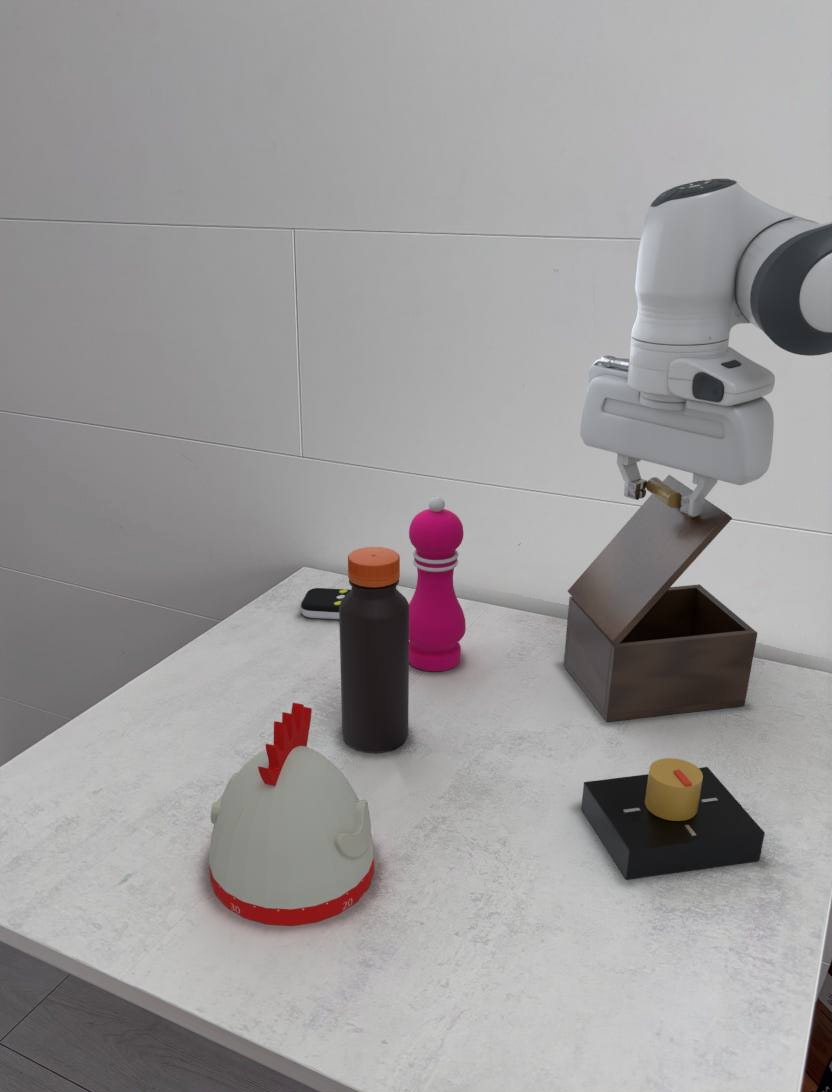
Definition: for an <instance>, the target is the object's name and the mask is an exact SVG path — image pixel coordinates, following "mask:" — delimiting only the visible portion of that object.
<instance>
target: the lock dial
mask: <svg viewBox="0 0 832 1092" xmlns="http://www.w3.org/2000/svg"><path fill="white" fill-rule="evenodd" d="M699 768H700V767H699V766H697V765H695V764H693V763H691V762H690V761H688V760H684V759H680V758H676V757H675V758H674V757H665V758H660V759H657V760H655V761H653V762H652V763H651V764H650V765H649V768H648V774H649V775H648V782H647V789H646V797H645V805H646V807H647V809H648V810H649V811H650V812H651V813H652V814H654V815H655V816H657V817H660V818H662V819H666V820H670V821H684V820H688V819H691V818H692V817H694V816H695V815H696V813H697V810H698V804H699V798H700V792H701V786H702V780H703V774H702V772H701V770H700V769H699Z"/></svg>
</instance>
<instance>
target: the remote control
mask: <svg viewBox="0 0 832 1092" xmlns="http://www.w3.org/2000/svg"><path fill="white" fill-rule="evenodd" d="M351 590H352V589H347V588H346V589H345V588H328V587H325V588H324V587H314V588H311V589H309V590H307V592H306V593H305V594H304V596H303V599H302V601H301V603H300V612H301V614H302V615H303V616H304V617H307V618H310V619H327V620H339V605H340V603H341V600H342V599H343V598H344V597H345V596H346V595H347V594H348V593H349V592H350V591H351Z"/></svg>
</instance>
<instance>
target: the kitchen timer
mask: <svg viewBox="0 0 832 1092" xmlns="http://www.w3.org/2000/svg"><path fill="white" fill-rule="evenodd" d="M312 709H313V708H312V707H308V706H305V705H304V704H303V703H298V702H292V704H291V711H290V712H291V713H290V712H285V711H282V712H281V713H282V714H281V721H277V720H274V721H273V744H271V743H265V749H264V750H261V751H259V752H257V754H255V755H254V756H253V757H252V758H250V759H249V760H248V761H247V762H246V763H245V764H243V766H242V767H241V768H240V769H239V770H238V771H237V772H235V773H233V775H231V776H230V778H229V780H228V782H227V784H226V786H225V788H224V790H223V792H222V794H221V796H220V797H219V799H218V800H217V801H214V802H212V804H211V809H210V823H211V824H213V827H212V832H211V838H210V844H209V853H208V868H209V878H210V882H211V885H212V888H213V891H214V895H215V896H216V897H217V898H218V899H219V900H220V901H221V902H222V904H223V905H224V906H225V907H226V908H227V909H228V910H230V911H232V912H234V913H236V914H237V915H239V916H241V917H242V918H244V919H247V920H251V921H254V922H258V923H261V924H265V925H273V926H274V925H275V926H290V927H291V926H298V925H299V926H300V925H305V924H312V923H317V922H320V921H323V920H326V919H328V918H332V917H335V916H337V915H340V914H342V912H344V911H345V910H347V909H349V908H350V907H351V906H353V905H354V904H357V902H358V901H360V899H361V898H362V896H363V895H364V894H365V893H366V892H367V890H368V889H369V888H370V886H371V882H372V880H373V877H374V874H375V855H374V844H373V837H372V824H371V815H370V814H371V813H370V809H369V803H368V800H366V799H363V800H360V799H359V797H358V795H357V792H356V791H355V790H354V788H353V786H352V785H351V783H350V782H349V780H348V778H347V777H346V776H345V774H344V773H343V772H342V771H341V770H340V768H338V767H337V766H336V764H334V763H333V762H332V761H331V760H330V759H328V758H327V757H326V756H325V755H324V754H322V753H321V752H319V751H317V750H315V749H312V748H311V747H308V746H307V745H308V741H309V735H310V727H311V720H312V713H313V712H312V711H313V710H312Z"/></svg>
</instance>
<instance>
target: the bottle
mask: <svg viewBox="0 0 832 1092" xmlns="http://www.w3.org/2000/svg"><path fill="white" fill-rule="evenodd" d="M400 576H401V556H400V553H398V552H397V551H396V550H394V549H392V548H388V547H383V546H365V547H360V548H357V549H355V550H353V551H351V552H350V553H349V554H348V555H347V578H348V583H349V586H351V589H350V590H351V591H350V592H349V593H348V594H347V595H346V596H345V597H344V598H343V599H342V600H341V603H340V605H339V619H338V621H339V656H340V658H339V660H340V663H339V665H340V695H341V696H340V698H341V699H340V700H341V734H342V737H343V740H344V741H345V742H346V743H347V745H348V746H350V747H352V748H354V749H356V750H358V751H361V752H365V753H384V752H389V751H392V750H395V749H396V748H399V747H400V746H401V745H403V744H404V743H405V742H406V740H407V739H408V735H409V700H410V698H409V693H410V692H409V691H410V688H409V687H410V685H409V683H410V680H409V679H410V663H409V642H410V641H409V603H410V602H409V601H408V599H407V598H406V597H405V596H404V595H403V593H402V592H400V591H399V590H398V589H397V586H398V585H399V583H400Z"/></svg>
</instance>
